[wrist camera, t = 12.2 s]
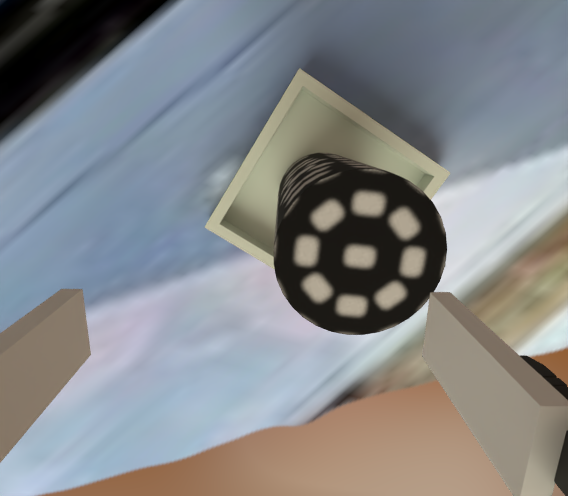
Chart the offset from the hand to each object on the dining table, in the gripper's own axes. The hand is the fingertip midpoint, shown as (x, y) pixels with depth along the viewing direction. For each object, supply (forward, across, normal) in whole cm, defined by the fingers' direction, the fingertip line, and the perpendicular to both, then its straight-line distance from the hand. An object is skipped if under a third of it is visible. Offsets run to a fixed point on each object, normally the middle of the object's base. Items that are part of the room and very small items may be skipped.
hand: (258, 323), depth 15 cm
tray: (+25, +5, +1) cm, 26 cm away
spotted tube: (+25, +5, +1) cm, 25 cm away
